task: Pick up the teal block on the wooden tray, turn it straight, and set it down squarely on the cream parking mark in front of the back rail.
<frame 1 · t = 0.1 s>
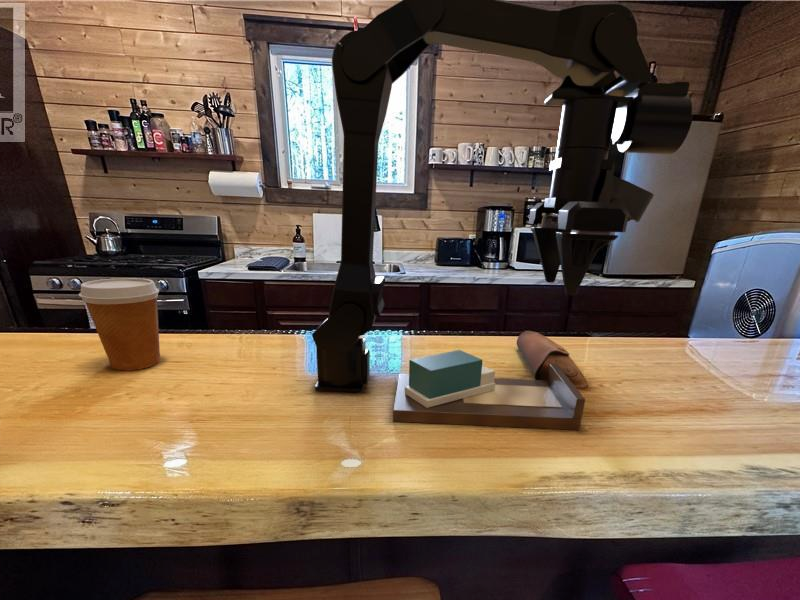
hand: (559, 288, 55), 15 cm above the worktop, tool pointing down, fingers open, 9 cm apart
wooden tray: (480, 404, 56), on the worktop
teal block: (450, 391, 56), point 2 cm above the worktop, touching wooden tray
disposable coffee cup: (136, 364, 65), on the worktop
sunglasses case: (547, 368, 71), on the worktop
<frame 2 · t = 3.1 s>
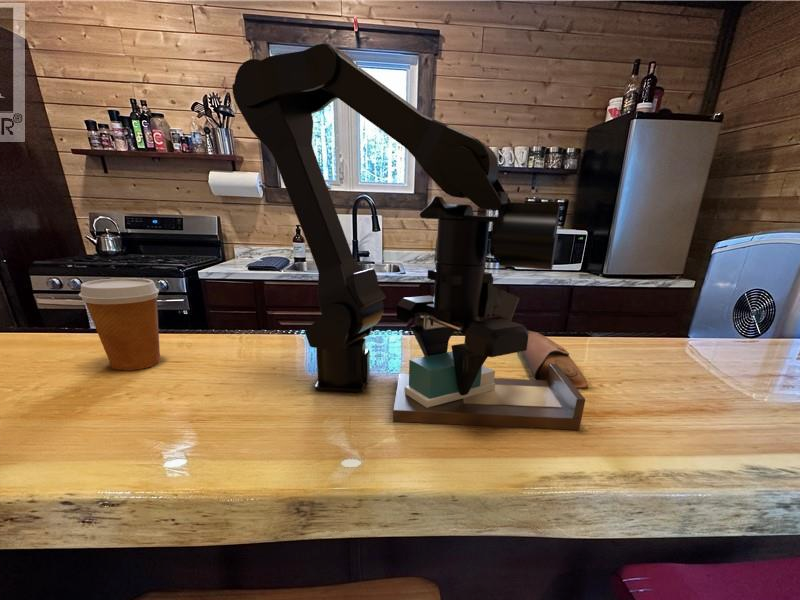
hand: (450, 387, 56), 2 cm above the worktop, tool pointing down, fingers closed on teal block, 5 cm apart
teal block: (450, 391, 56), point 2 cm above the worktop, touching gripper, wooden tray
everything else where it was.
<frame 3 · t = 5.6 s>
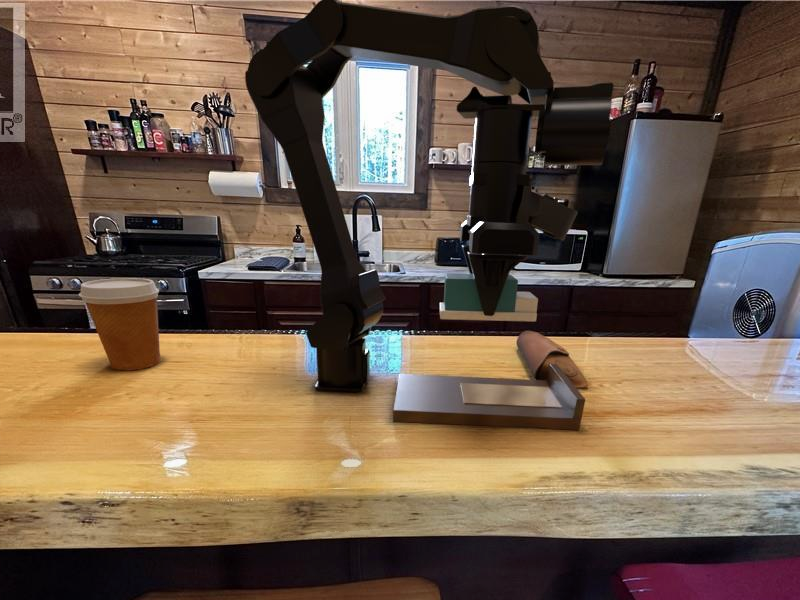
hand: (486, 310, 52), 12 cm above the worktop, tool pointing down, fingers closed on teal block, 5 cm apart
teal block: (485, 315, 52), point 12 cm above the worktop, touching gripper
everything else where it was.
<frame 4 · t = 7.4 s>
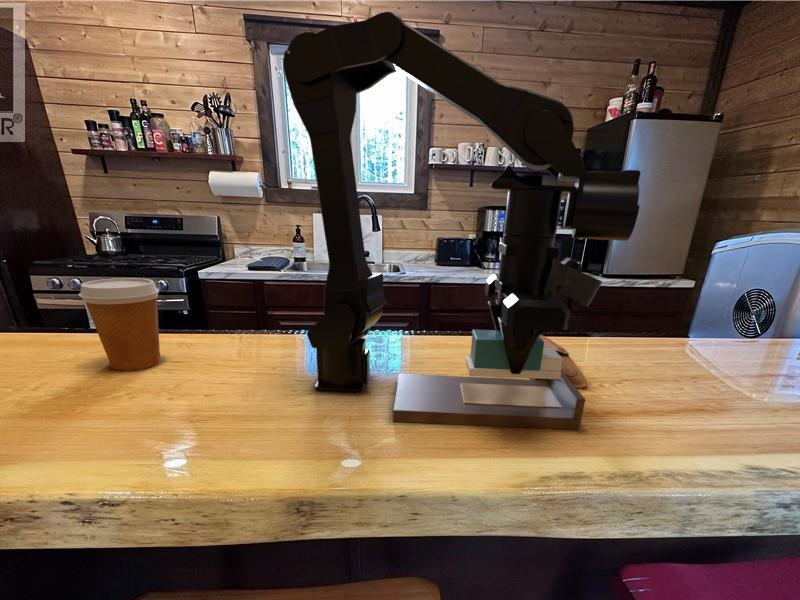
hand: (511, 366, 54), 5 cm above the worktop, tool pointing down, fingers closed on teal block, 5 cm apart
teal block: (510, 370, 55), point 5 cm above the worktop, touching gripper
everything else where it was.
when the fingers open (2 cm above the worktop, at t = 8.6 s): teal block stays where it is, resting on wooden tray.
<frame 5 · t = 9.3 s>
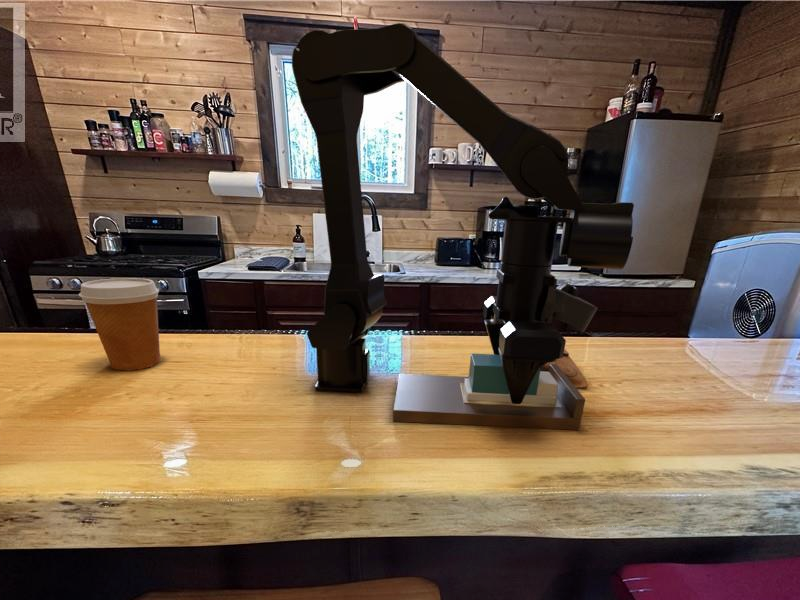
hand: (509, 388, 55), 2 cm above the worktop, tool pointing down, fingers open, 9 cm apart
teal block: (508, 394, 56), point 2 cm above the worktop, touching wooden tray
everything else where it was.
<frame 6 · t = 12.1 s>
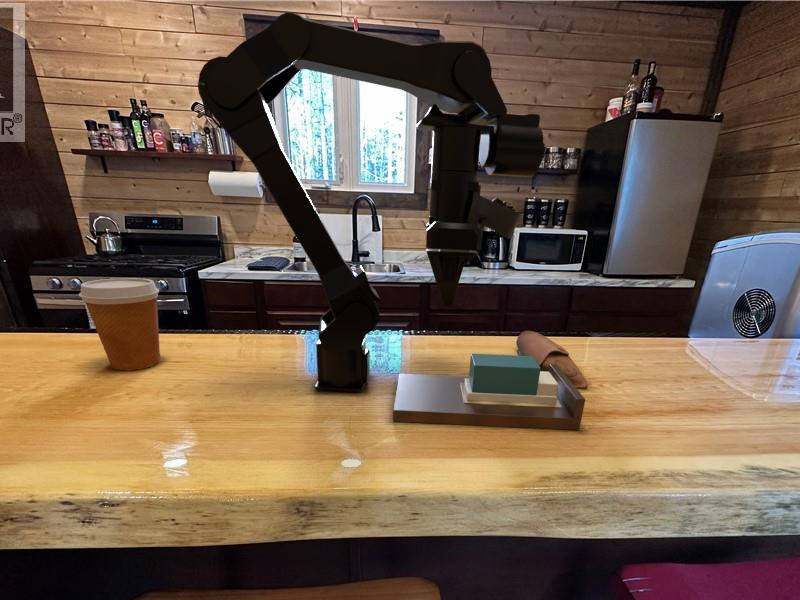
hand: (446, 299, 59), 12 cm above the worktop, tool pointing down, fingers open, 9 cm apart
nothing on the worktop moved.
at the end: teal block 0.1 cm from the target spot, point 1.6 cm above the worktop; teal block tilted 0°; the gripper is holding nothing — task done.
